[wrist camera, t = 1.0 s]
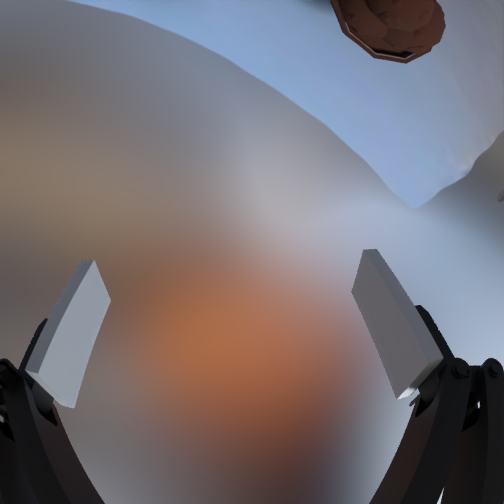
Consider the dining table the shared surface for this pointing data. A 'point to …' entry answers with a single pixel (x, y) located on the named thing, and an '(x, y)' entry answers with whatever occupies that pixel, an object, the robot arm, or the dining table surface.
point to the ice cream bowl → (391, 26)
